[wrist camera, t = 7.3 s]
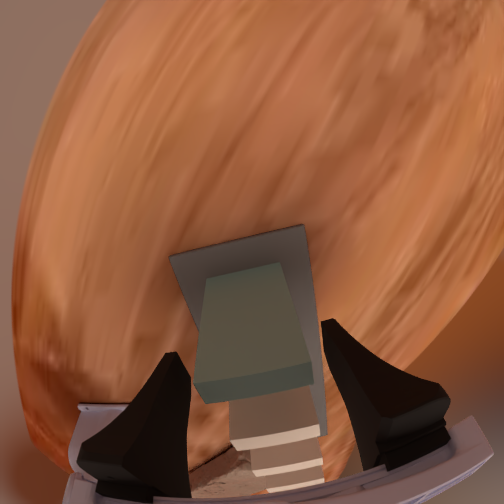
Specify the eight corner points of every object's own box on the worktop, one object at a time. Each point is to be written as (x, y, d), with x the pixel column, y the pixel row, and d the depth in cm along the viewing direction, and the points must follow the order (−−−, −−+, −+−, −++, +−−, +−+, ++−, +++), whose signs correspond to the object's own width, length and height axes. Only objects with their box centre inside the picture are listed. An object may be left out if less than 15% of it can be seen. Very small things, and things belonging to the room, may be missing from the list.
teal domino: (213, 297, 20) (205, 403, 12) (206, 278, 19) (193, 383, 11) (283, 282, 20) (314, 383, 12) (279, 262, 19) (311, 361, 11)
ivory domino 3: (261, 419, 27) (269, 492, 19) (258, 412, 26) (266, 488, 18) (307, 409, 27) (324, 482, 18) (306, 402, 26) (324, 477, 18)
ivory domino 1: (233, 352, 22) (237, 450, 14) (228, 338, 22) (229, 440, 13) (295, 339, 22) (320, 435, 14) (292, 325, 21) (319, 424, 13)
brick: (239, 439, 29) (240, 473, 24) (293, 450, 31) (298, 479, 27) (185, 472, 34) (183, 496, 30) (230, 481, 37) (231, 504, 32)
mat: (257, 447, 30) (257, 449, 30) (169, 255, 19) (168, 257, 18) (326, 433, 30) (327, 434, 30) (303, 223, 18) (304, 225, 18)
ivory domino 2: (249, 391, 25) (256, 476, 16) (245, 381, 24) (251, 470, 16) (302, 380, 24) (323, 464, 16) (300, 369, 24) (322, 457, 16)
